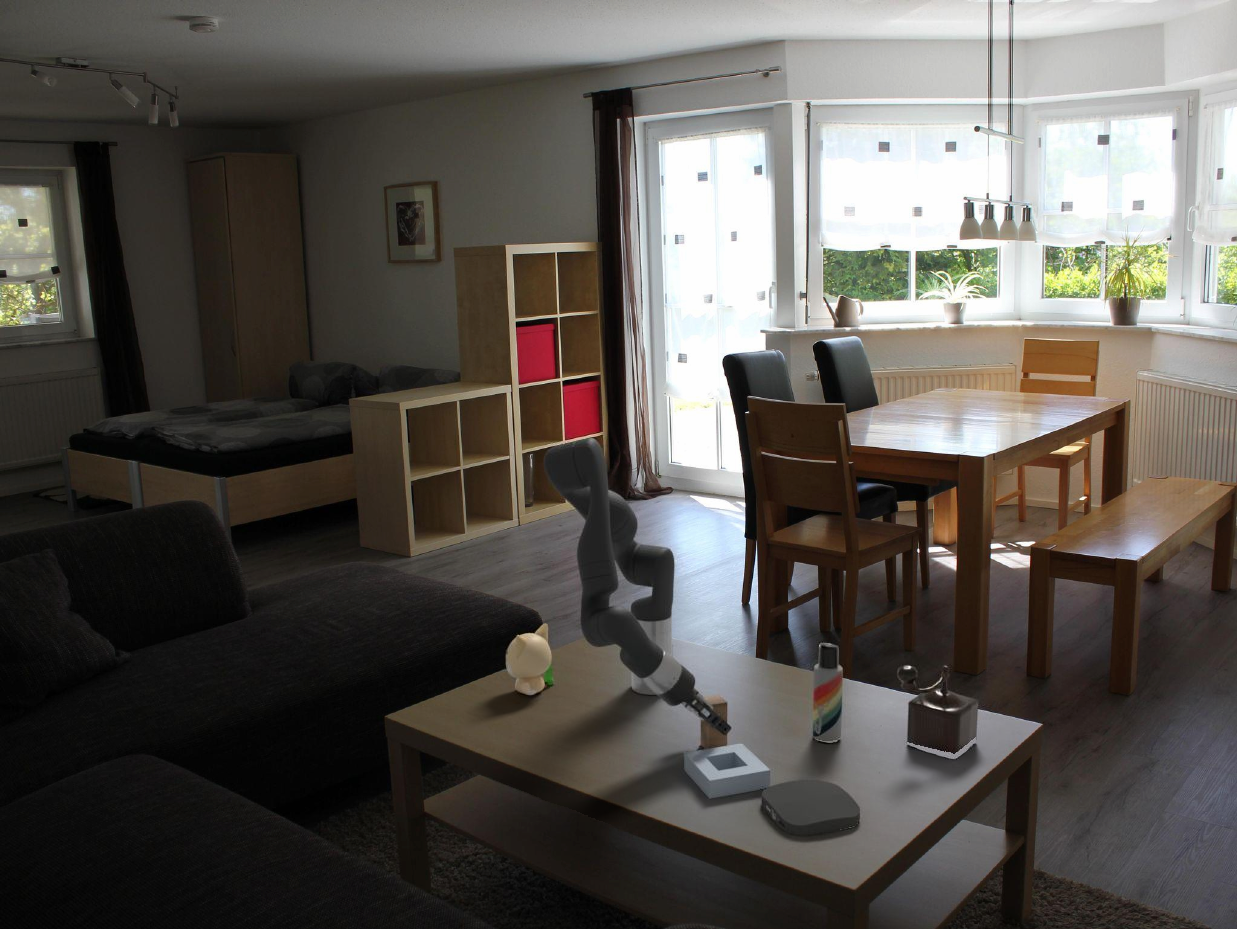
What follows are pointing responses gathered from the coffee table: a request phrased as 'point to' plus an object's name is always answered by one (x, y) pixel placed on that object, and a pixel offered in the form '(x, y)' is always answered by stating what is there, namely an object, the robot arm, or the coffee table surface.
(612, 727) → the coffee table surface
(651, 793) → the coffee table surface
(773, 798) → the media streaming box
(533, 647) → the kitten
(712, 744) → the peg
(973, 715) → the manual coffee grinder
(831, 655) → the lotion bottle
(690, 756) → the socket
